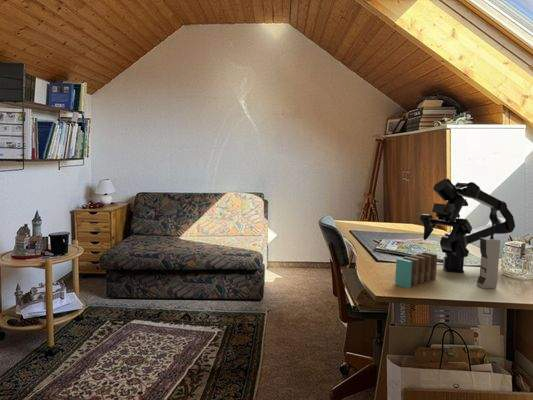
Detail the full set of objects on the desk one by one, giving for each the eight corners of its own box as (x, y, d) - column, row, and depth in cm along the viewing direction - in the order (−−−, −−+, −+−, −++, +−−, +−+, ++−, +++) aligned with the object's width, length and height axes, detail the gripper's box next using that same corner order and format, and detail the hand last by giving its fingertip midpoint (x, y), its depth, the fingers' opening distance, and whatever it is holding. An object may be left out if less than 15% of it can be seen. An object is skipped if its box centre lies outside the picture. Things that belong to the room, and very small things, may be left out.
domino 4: (417, 277, 155) (418, 253, 154) (429, 281, 151) (431, 256, 150) (414, 278, 154) (416, 254, 153) (427, 282, 150) (429, 257, 149)
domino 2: (404, 281, 150) (405, 256, 149) (417, 285, 146) (418, 259, 145) (401, 282, 149) (403, 257, 148) (414, 286, 145) (416, 260, 144)
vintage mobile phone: (476, 285, 148) (481, 213, 145) (489, 285, 148) (495, 213, 146) (482, 288, 144) (488, 215, 142) (496, 288, 145) (502, 215, 142)
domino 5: (423, 276, 158) (424, 252, 157) (435, 279, 154) (437, 254, 153) (420, 276, 157) (422, 252, 156) (433, 280, 153) (435, 255, 152)
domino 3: (410, 279, 153) (412, 255, 152) (423, 283, 149) (425, 257, 148) (408, 280, 152) (409, 255, 151) (421, 284, 148) (422, 258, 147)
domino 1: (397, 283, 148) (399, 258, 147) (410, 287, 144) (412, 261, 143) (395, 284, 147) (396, 258, 146) (408, 288, 143) (409, 261, 142)
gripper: (421, 193, 166) (404, 225, 161) (468, 196, 151) (451, 232, 146) (433, 210, 172) (416, 242, 167) (479, 216, 157) (462, 250, 152)
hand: (435, 241), depth 158 cm, fingers open, 9 cm apart
